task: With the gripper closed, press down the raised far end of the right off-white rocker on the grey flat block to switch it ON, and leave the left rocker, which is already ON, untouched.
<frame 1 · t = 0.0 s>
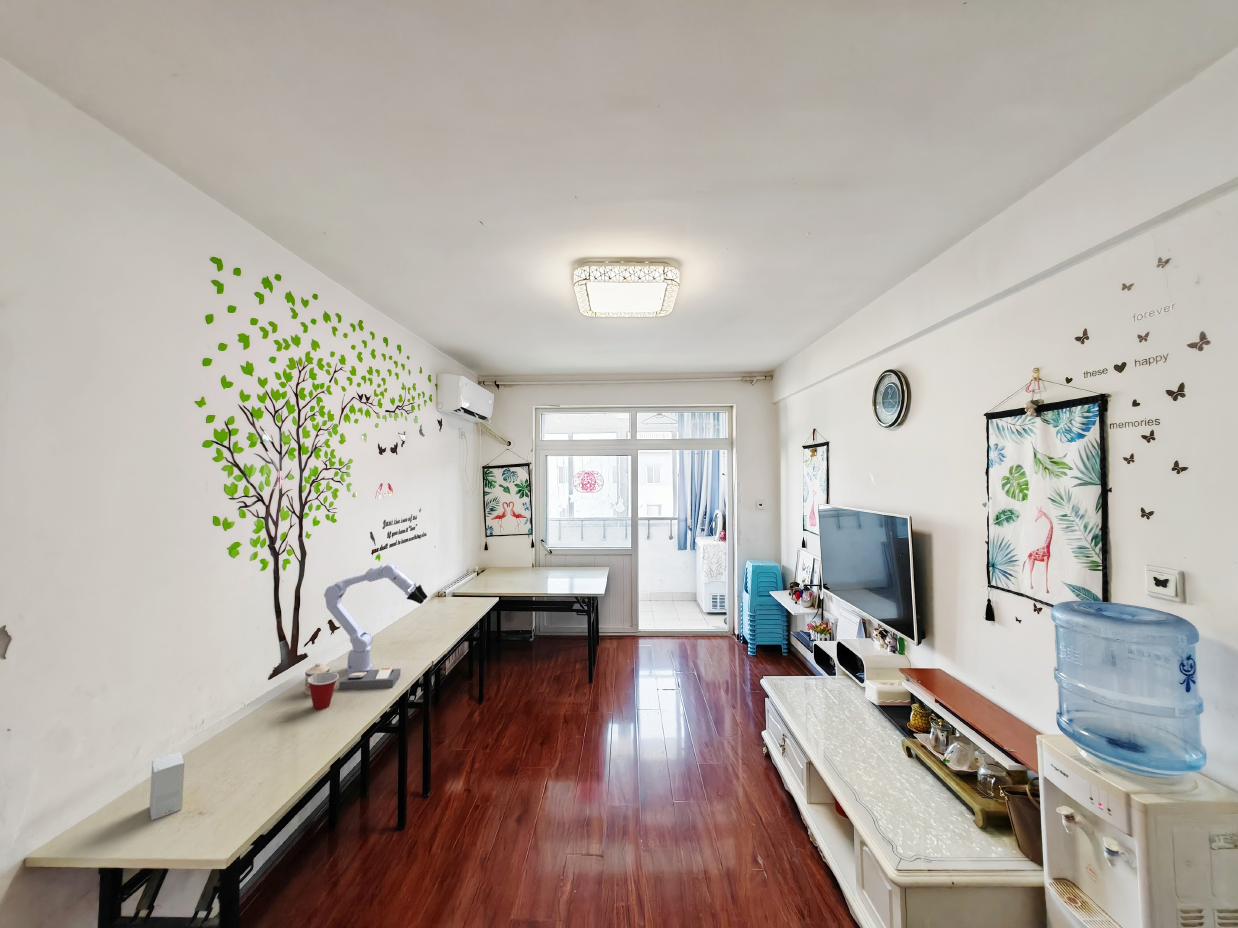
hand: (424, 600, 236), 32 cm above the table, tool tilted 50°, fingers open, 7 cm apart
small box: (165, 808, 134), on the table
rocker left: (358, 674, 215), point 4 cm above the table, hinge at -14.0°
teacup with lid: (320, 691, 206), on the table
plastic cup: (322, 706, 193), on the table
grey flat block: (370, 682, 215), on the table
rocker right: (384, 673, 216), point 4 cm above the table, hinge at 14.0°
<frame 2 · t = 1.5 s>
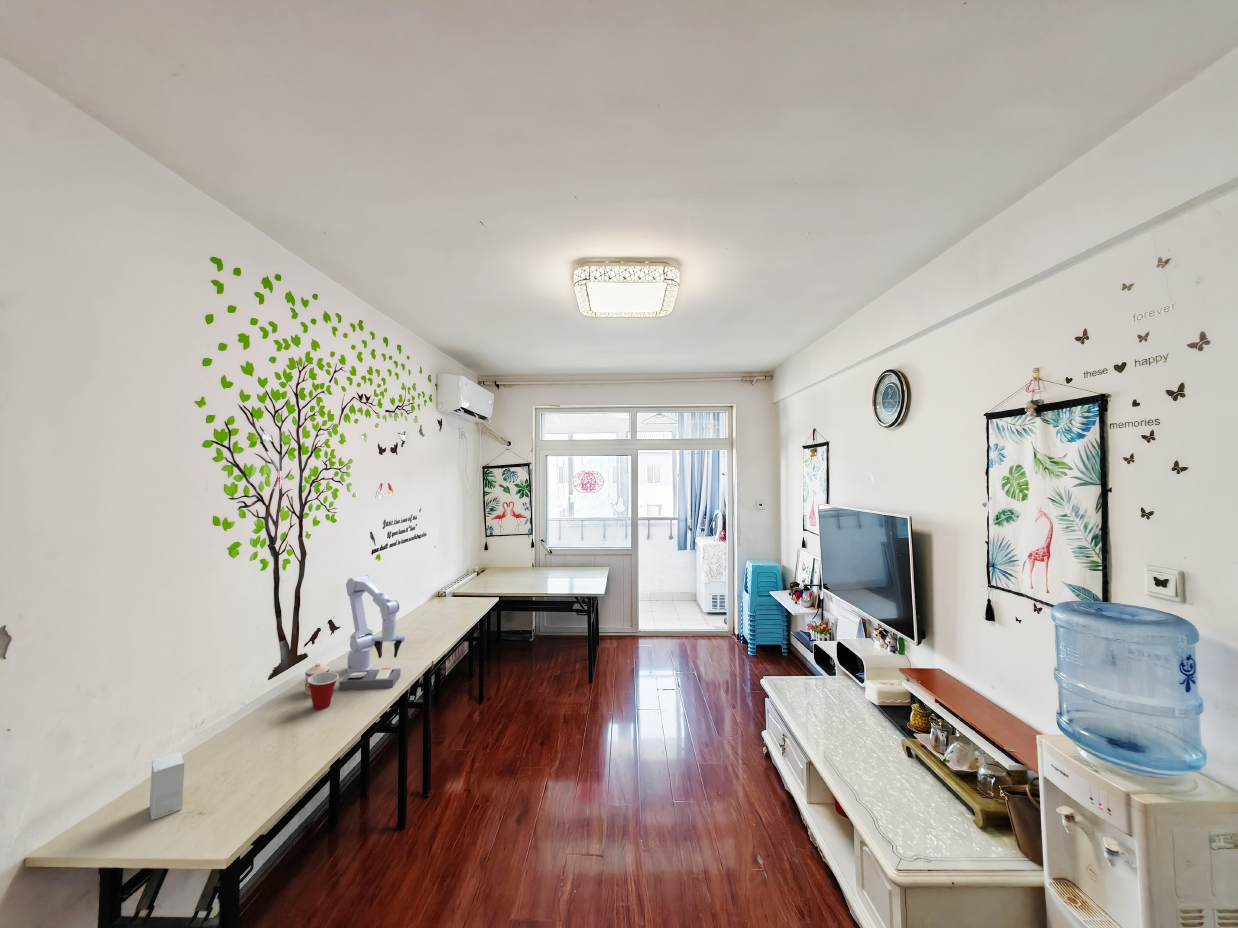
hand: (387, 657, 221), 9 cm above the table, tool pointing down, fingers open, 6 cm apart
nothing on the table moved.
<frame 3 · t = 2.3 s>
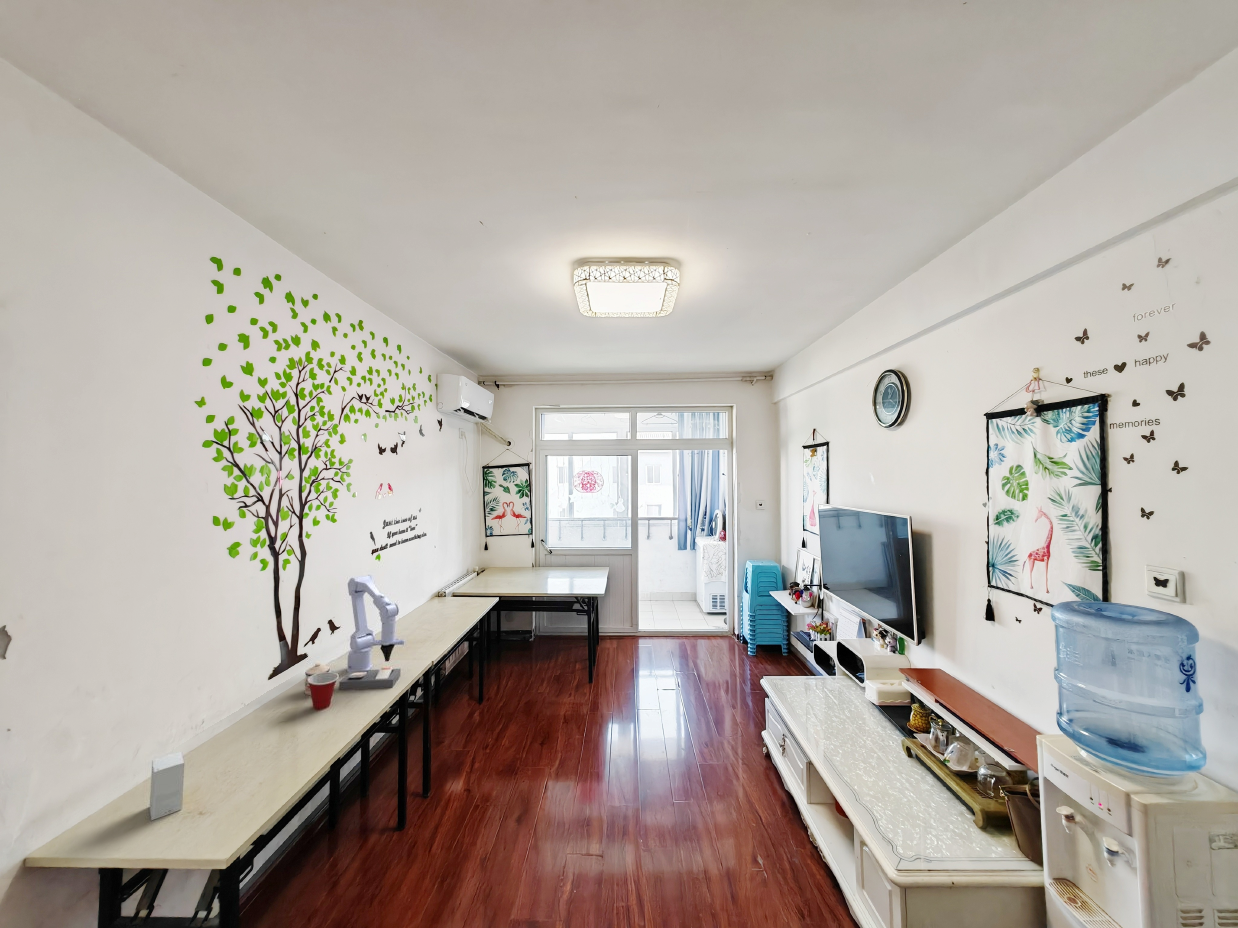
hand: (387, 660, 221), 8 cm above the table, tool pointing down, fingers closed
nothing on the table moved.
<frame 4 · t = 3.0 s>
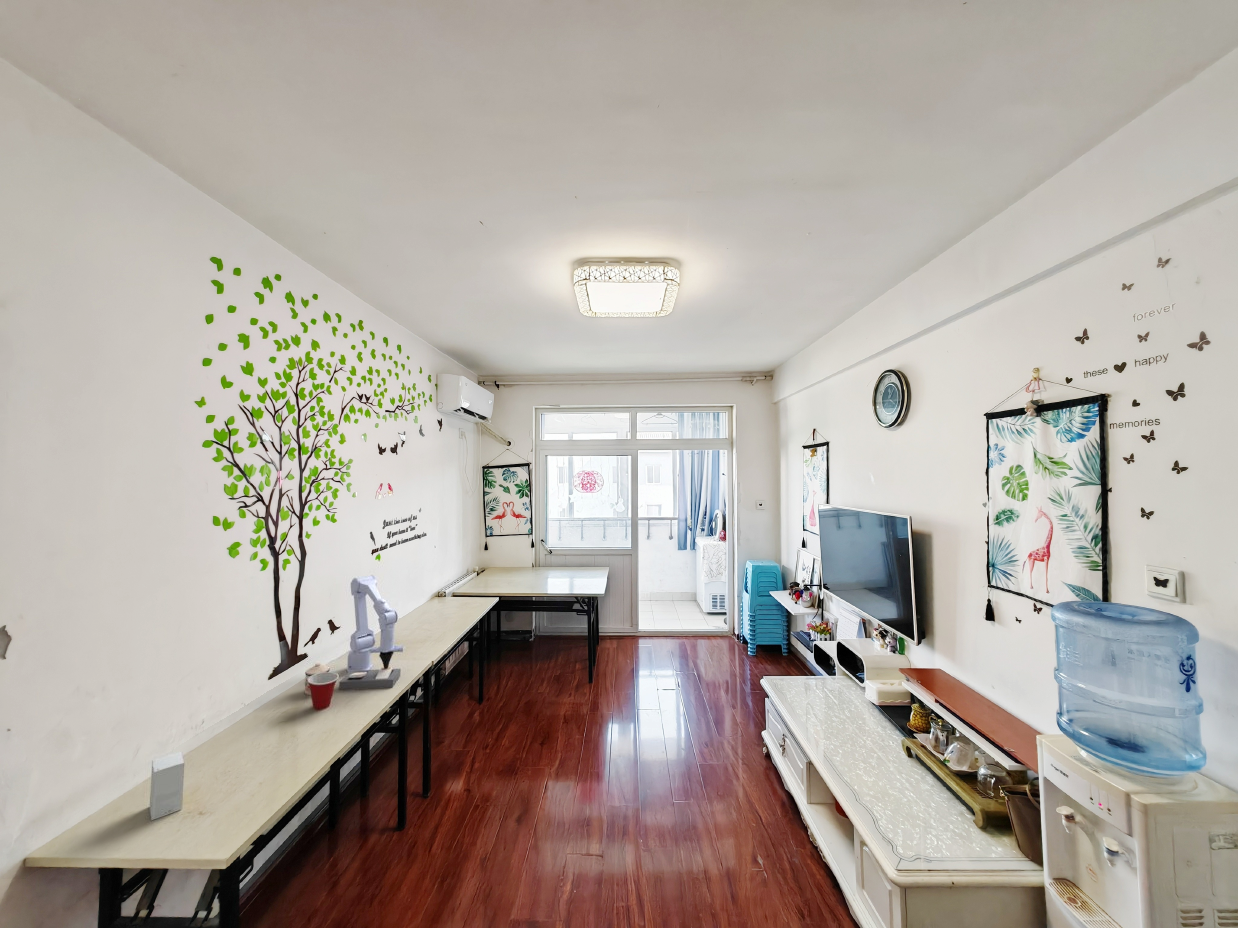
hand: (386, 667, 219), 5 cm above the table, tool pointing down, fingers closed, pressing on rocker right
rocker right: (384, 673, 216), point 4 cm above the table, hinge at 14.0°, touching gripper
everything else where it was.
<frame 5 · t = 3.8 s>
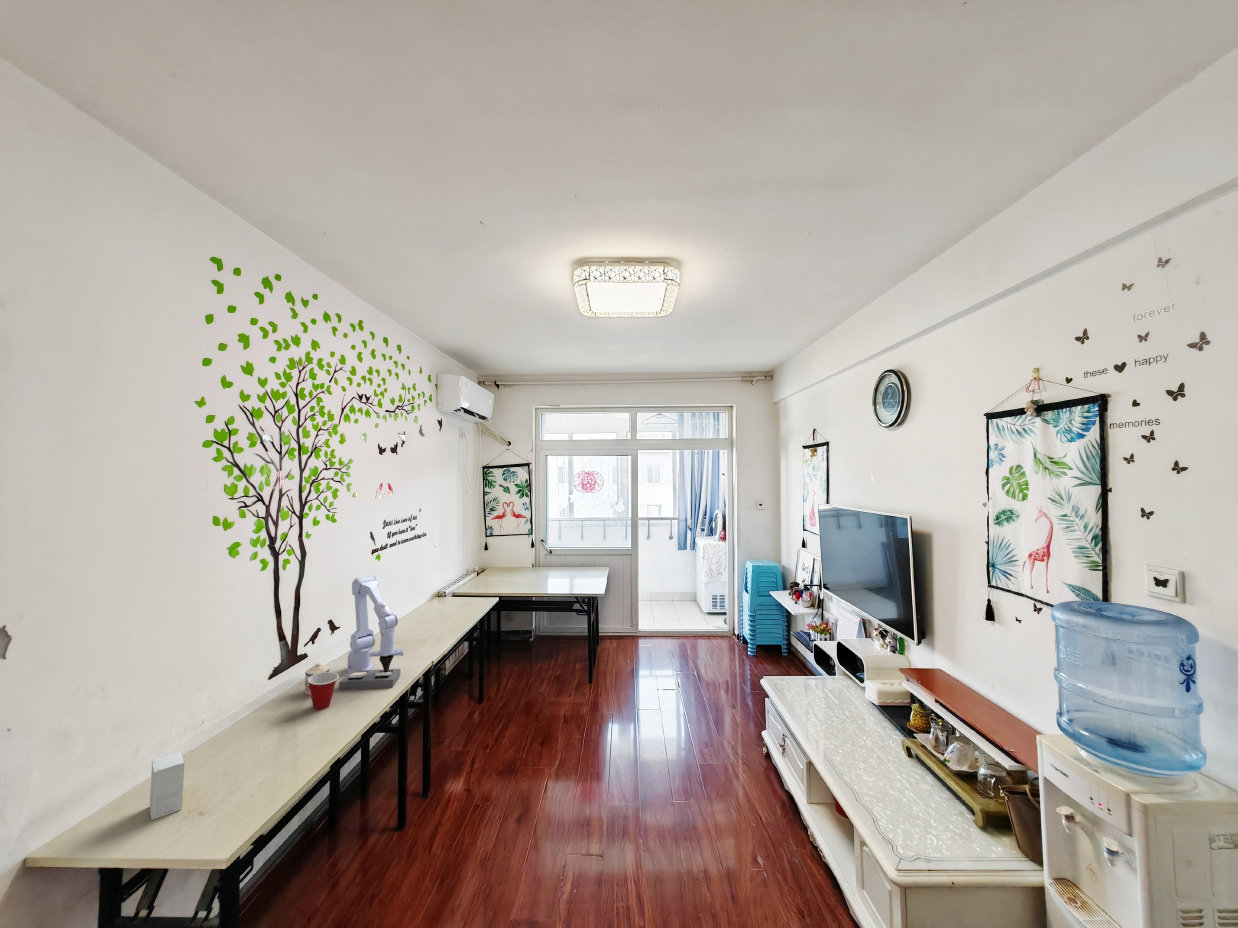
hand: (386, 671, 220), 3 cm above the table, tool pointing down, fingers closed, pressing on rocker right
rocker right: (384, 673, 216), point 4 cm above the table, hinge at -19.8°, touching gripper
everything else where it was.
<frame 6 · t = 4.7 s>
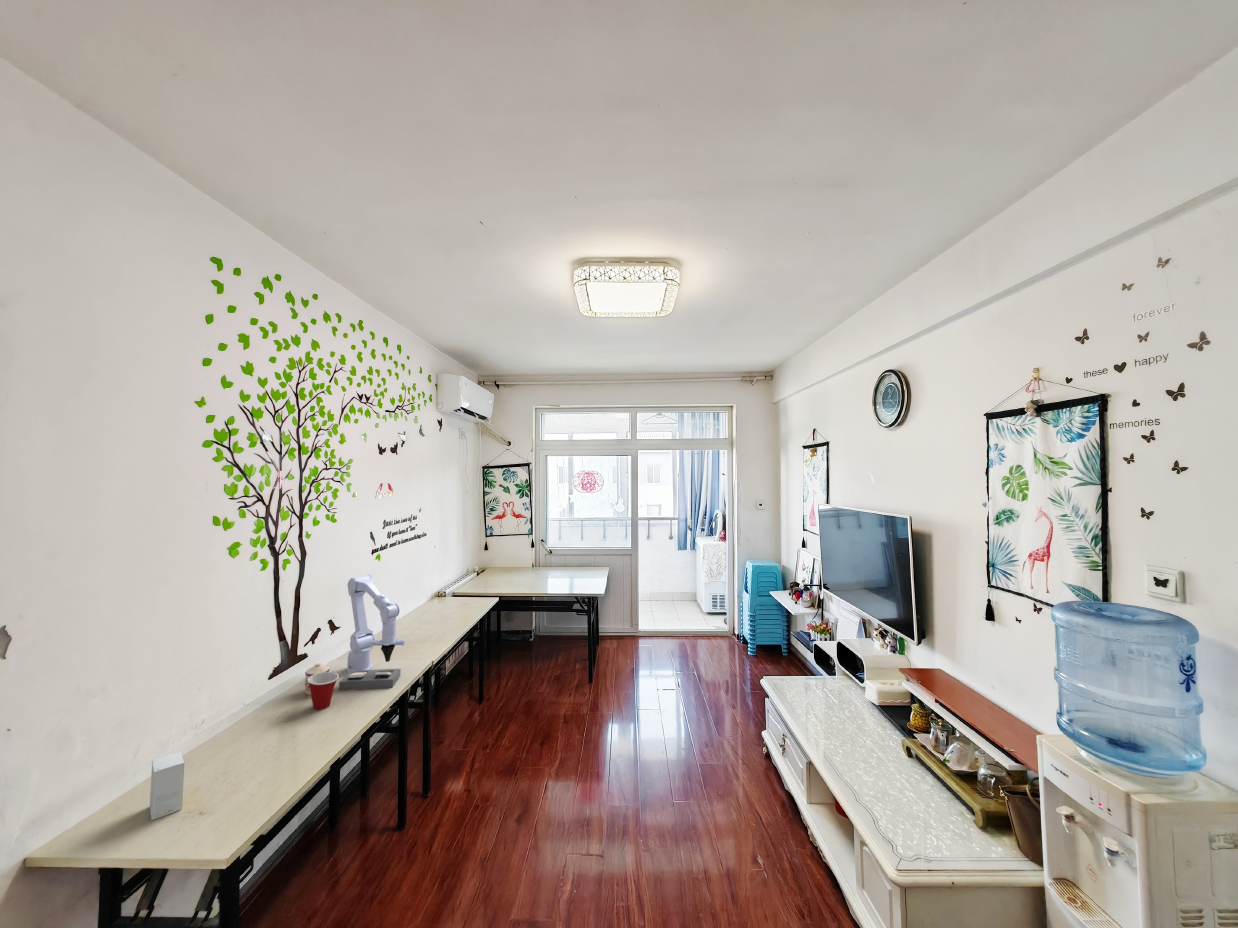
hand: (387, 660, 221), 8 cm above the table, tool pointing down, fingers closed
rocker right: (384, 673, 216), point 4 cm above the table, hinge at -26.0°
everything else where it was.
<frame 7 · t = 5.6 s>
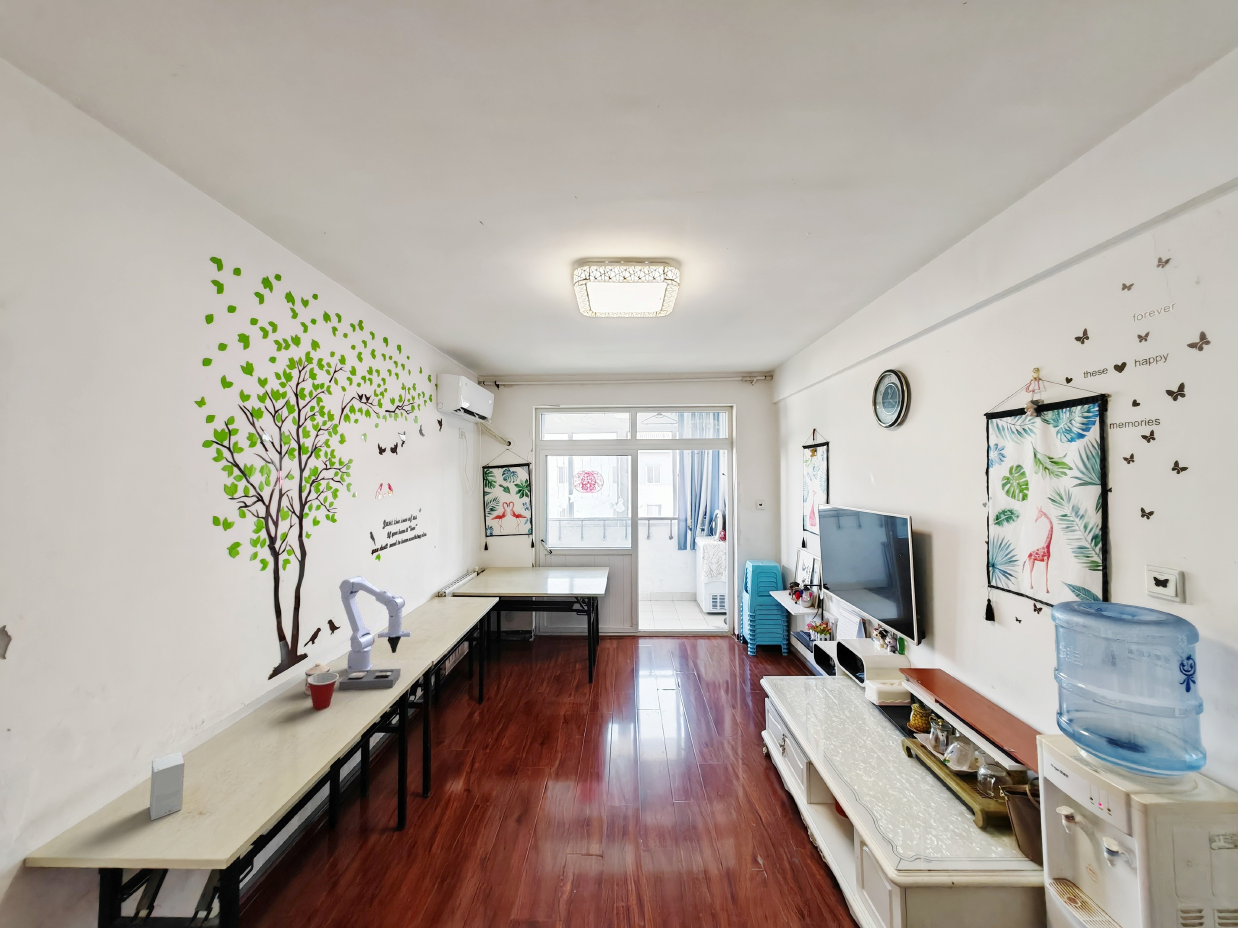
hand: (394, 652, 228), 9 cm above the table, tool pointing down, fingers closed
rocker right: (384, 673, 216), point 4 cm above the table, hinge at -22.5°
everything else where it was.
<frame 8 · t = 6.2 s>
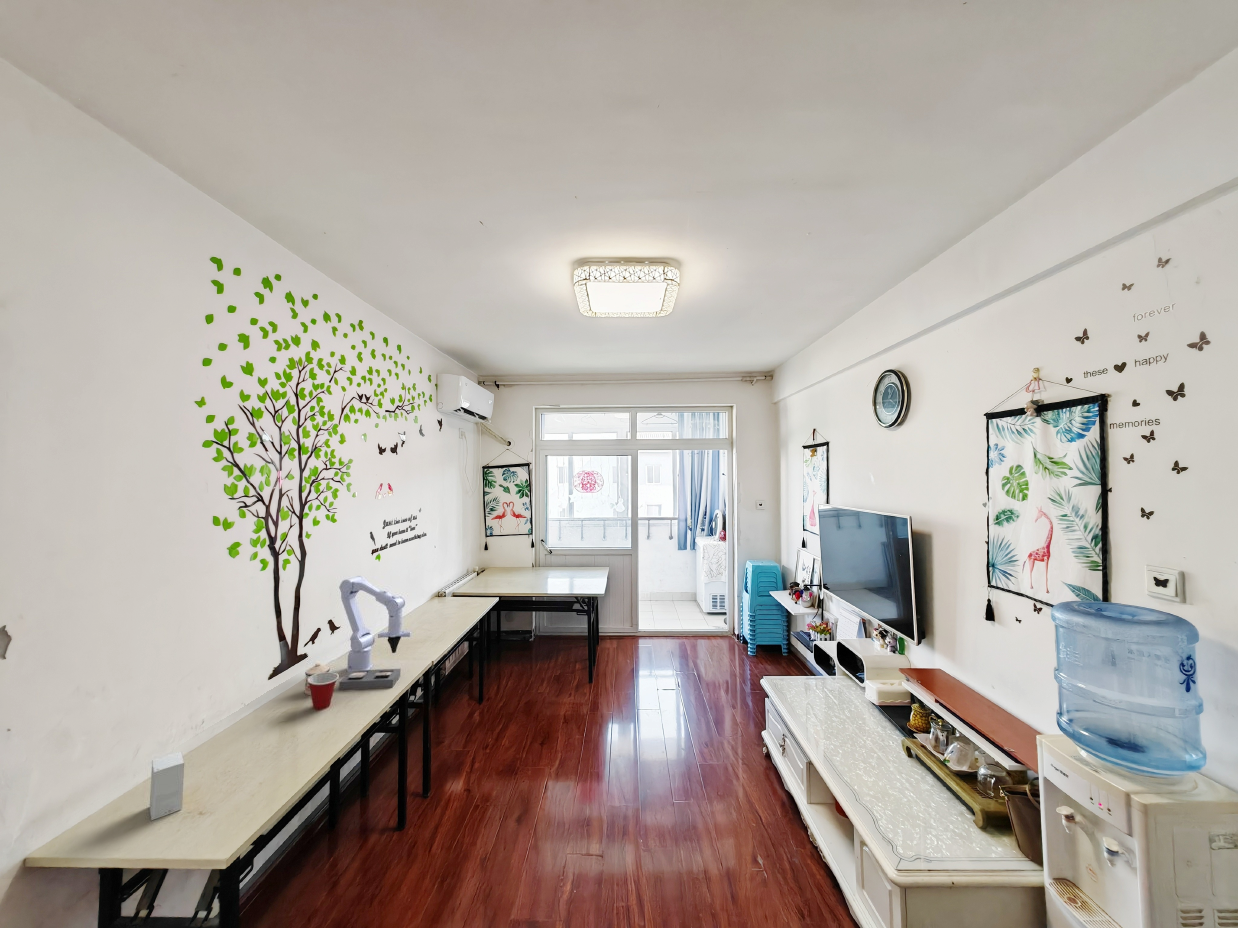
hand: (394, 652, 228), 9 cm above the table, tool pointing down, fingers closed
rocker right: (384, 673, 216), point 4 cm above the table, hinge at -21.2°
everything else where it was.
at the end: rocker right at -21° (first picture: +14°); rocker left at -14° (first picture: -14°) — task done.
